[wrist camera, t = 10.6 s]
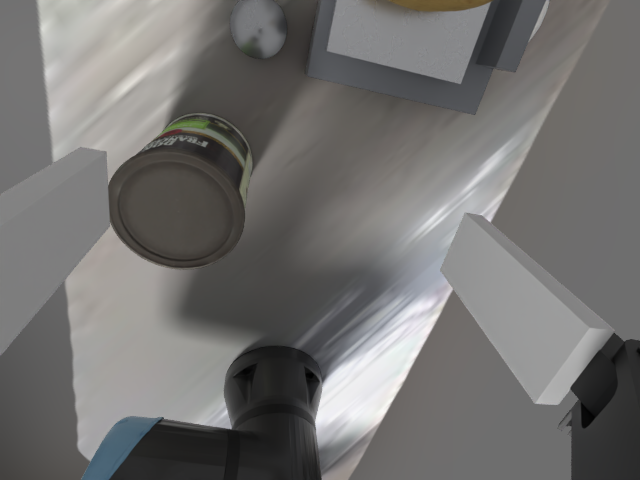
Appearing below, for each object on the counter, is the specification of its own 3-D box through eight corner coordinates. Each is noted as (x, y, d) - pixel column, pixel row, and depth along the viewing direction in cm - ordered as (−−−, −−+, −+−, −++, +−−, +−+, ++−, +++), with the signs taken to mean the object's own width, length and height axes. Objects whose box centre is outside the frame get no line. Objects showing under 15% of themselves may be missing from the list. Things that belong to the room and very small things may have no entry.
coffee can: (139, 125, 38) (77, 168, 26) (235, 102, 38) (218, 134, 26) (179, 212, 43) (142, 283, 31) (264, 192, 43) (260, 254, 31)
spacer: (281, 62, 37) (281, 64, 34) (230, 50, 36) (227, 51, 33) (290, 4, 35) (291, 2, 32) (236, -10, 34) (233, -14, 31)
